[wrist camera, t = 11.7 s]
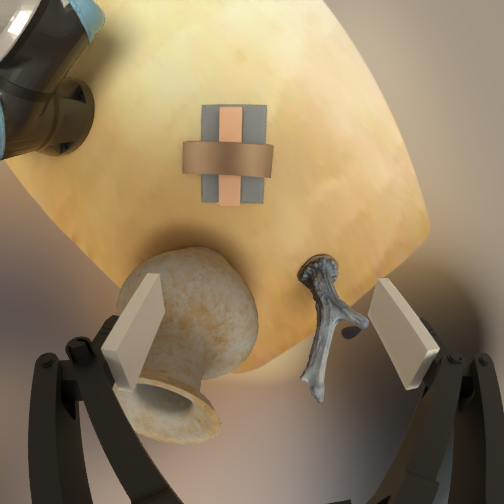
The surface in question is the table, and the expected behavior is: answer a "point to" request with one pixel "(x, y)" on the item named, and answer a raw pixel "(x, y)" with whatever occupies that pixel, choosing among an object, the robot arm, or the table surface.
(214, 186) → the ridge block
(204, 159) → the walnut bar
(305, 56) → the table surface
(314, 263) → the antler
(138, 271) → the vase
